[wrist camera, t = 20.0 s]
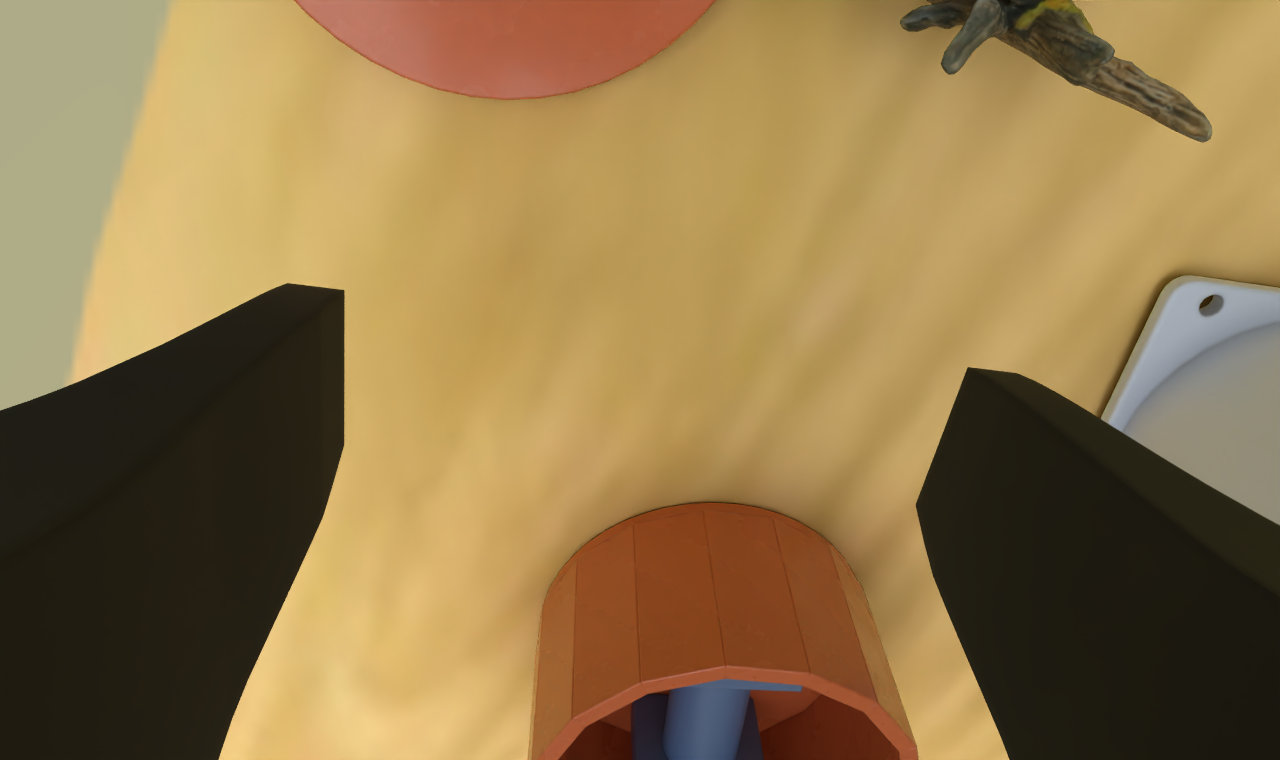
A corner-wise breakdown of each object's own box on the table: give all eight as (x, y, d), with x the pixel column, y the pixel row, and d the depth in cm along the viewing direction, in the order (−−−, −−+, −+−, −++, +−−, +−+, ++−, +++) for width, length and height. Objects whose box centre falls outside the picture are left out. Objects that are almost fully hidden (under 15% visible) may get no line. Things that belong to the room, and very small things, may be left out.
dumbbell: (651, 553, 24) (659, 655, 21) (784, 559, 24) (809, 661, 21) (630, 716, 27) (633, 825, 24) (748, 720, 27) (766, 829, 24)
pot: (904, 521, 24) (976, 687, 20) (817, 750, 29) (859, 931, 24) (560, 483, 23) (549, 650, 19) (524, 726, 28) (508, 910, 23)
